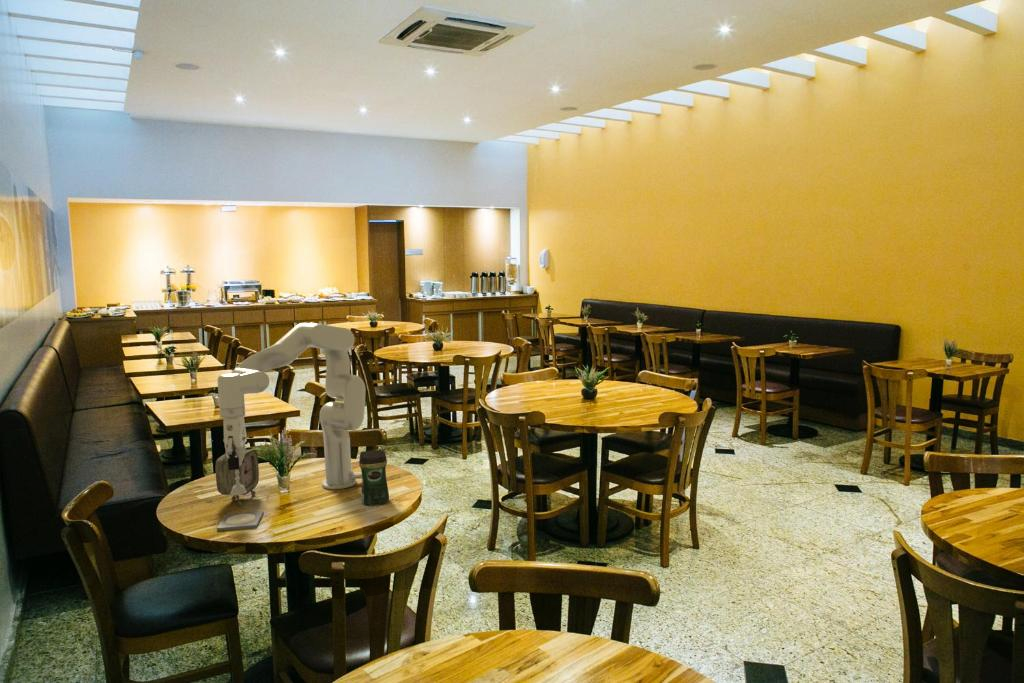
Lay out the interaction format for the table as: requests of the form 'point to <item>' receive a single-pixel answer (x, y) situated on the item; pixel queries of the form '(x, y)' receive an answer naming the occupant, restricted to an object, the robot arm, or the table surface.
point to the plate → (240, 520)
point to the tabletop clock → (247, 474)
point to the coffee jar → (373, 477)
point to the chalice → (238, 488)
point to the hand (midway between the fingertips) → (236, 465)
